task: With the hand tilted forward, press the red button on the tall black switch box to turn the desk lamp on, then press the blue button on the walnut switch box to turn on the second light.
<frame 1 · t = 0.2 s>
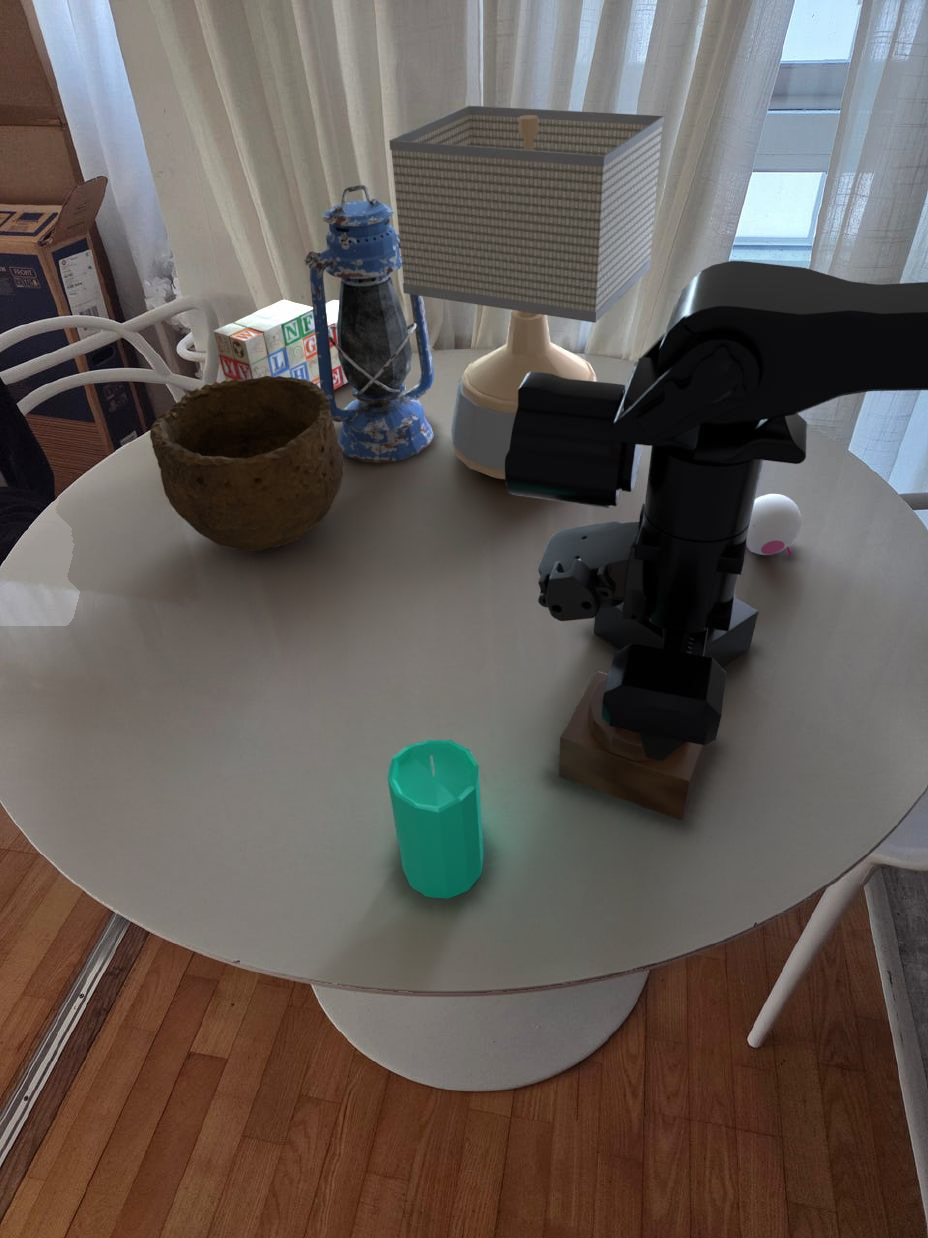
hand: (664, 706, 57), 12 cm above the table, tool pointing down, fingers open, 9 cm apart
lantern: (385, 438, 111), on the table
desk lamp: (528, 455, 106), on the table
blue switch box: (634, 761, 69), on the table
blue button: (642, 700, 64), point 7 cm above the table, slide at 0.1 cm
switch box: (670, 641, 79), on the table
light button: (679, 581, 75), point 7 cm above the table, slide at 0.1 cm
stack of blocks: (306, 393, 122), on the table
candle: (443, 863, 63), on the table
stress ball: (757, 547, 90), on the table
bowl: (270, 534, 96), on the table
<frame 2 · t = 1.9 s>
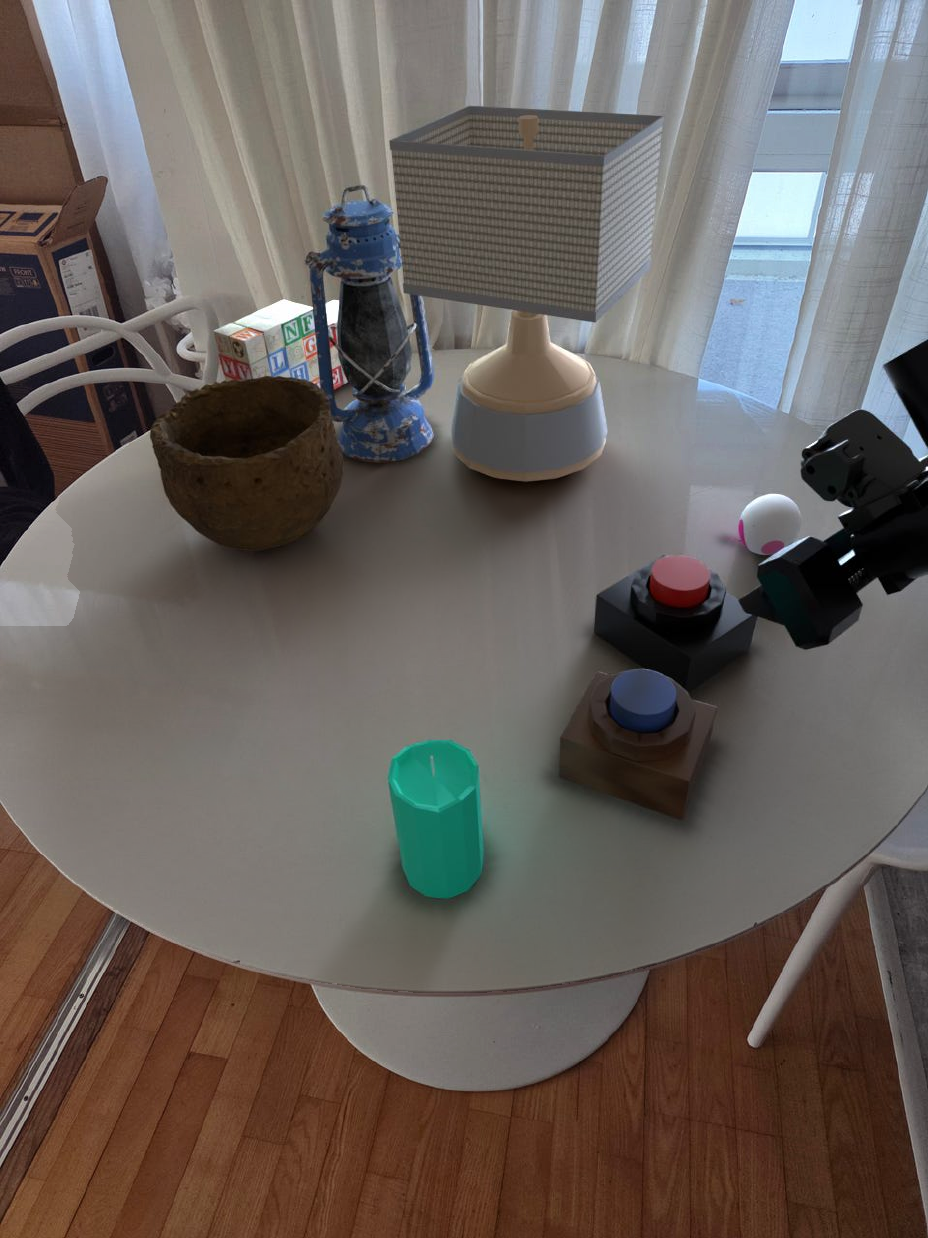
hand: (780, 578, 65), 13 cm above the table, tool tilted 45°, fingers open, 9 cm apart
nothing on the table moved.
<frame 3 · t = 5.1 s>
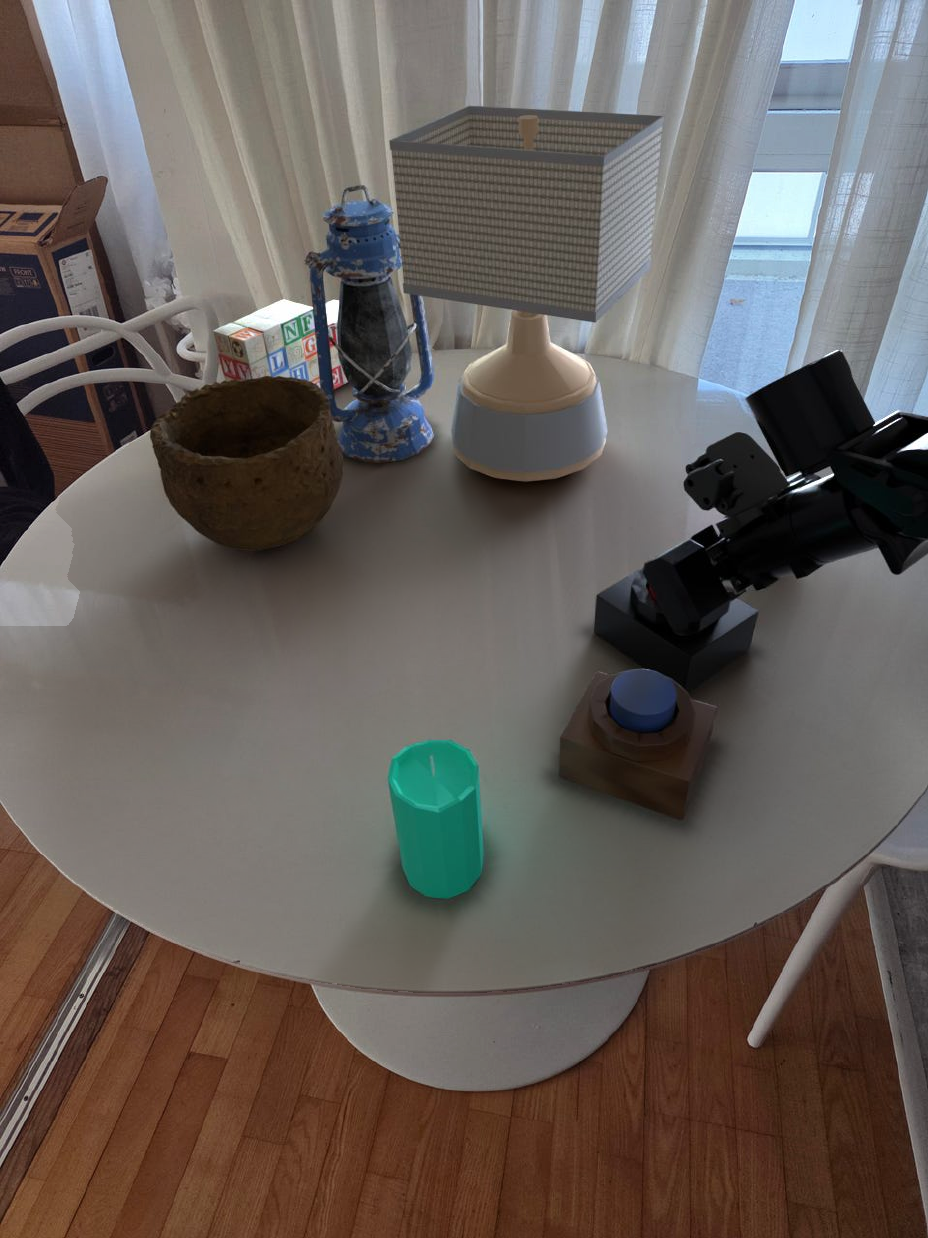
hand: (680, 573, 74), 8 cm above the table, tool tilted 45°, fingers closed, pressing on light button
light button: (678, 585, 75), point 7 cm above the table, slide at -0.4 cm, touching gripper
everything else where it was.
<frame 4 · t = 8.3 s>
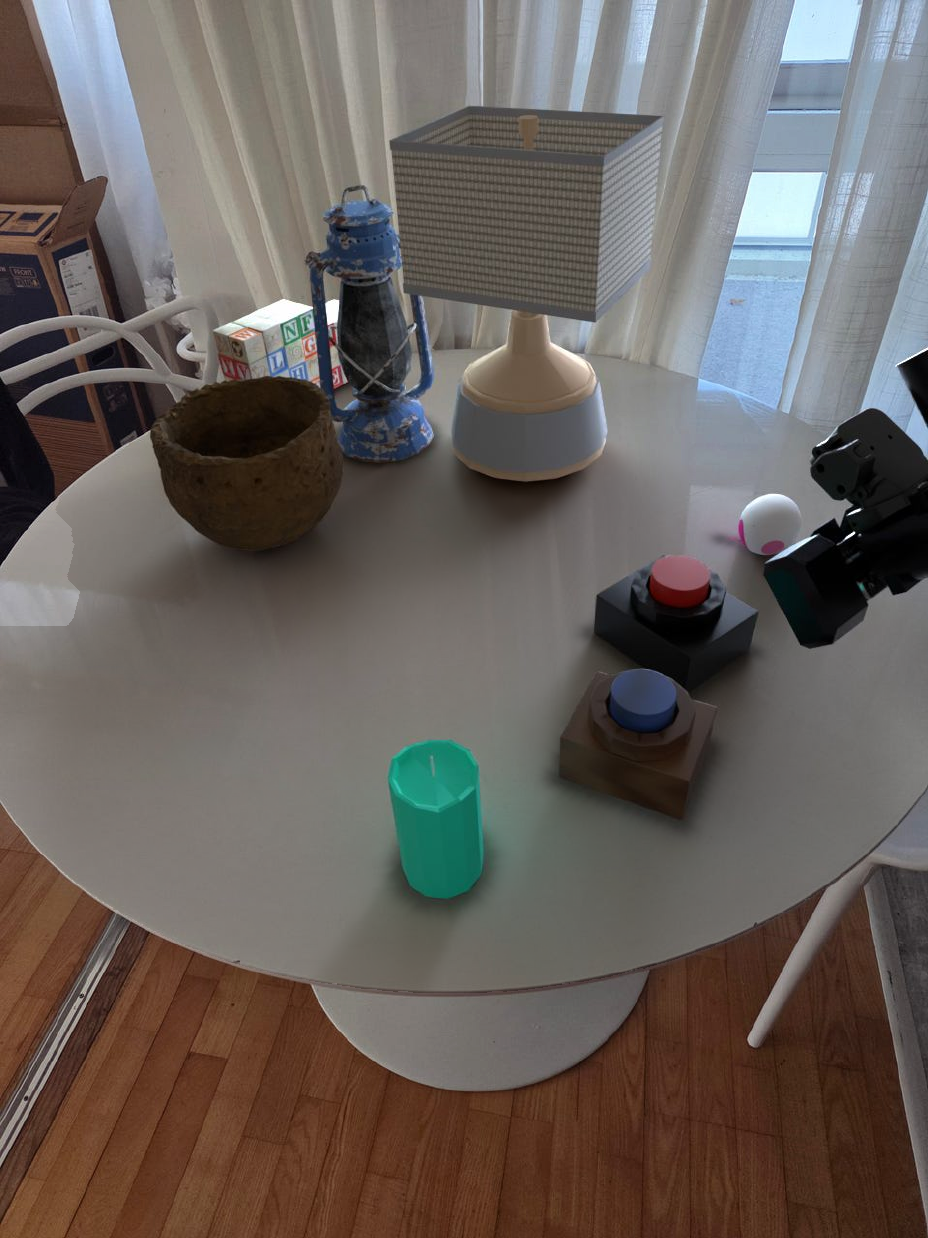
hand: (785, 575, 65), 14 cm above the table, tool tilted 45°, fingers closed
light button: (679, 581, 75), point 7 cm above the table, slide at 0.1 cm
everything else where it was.
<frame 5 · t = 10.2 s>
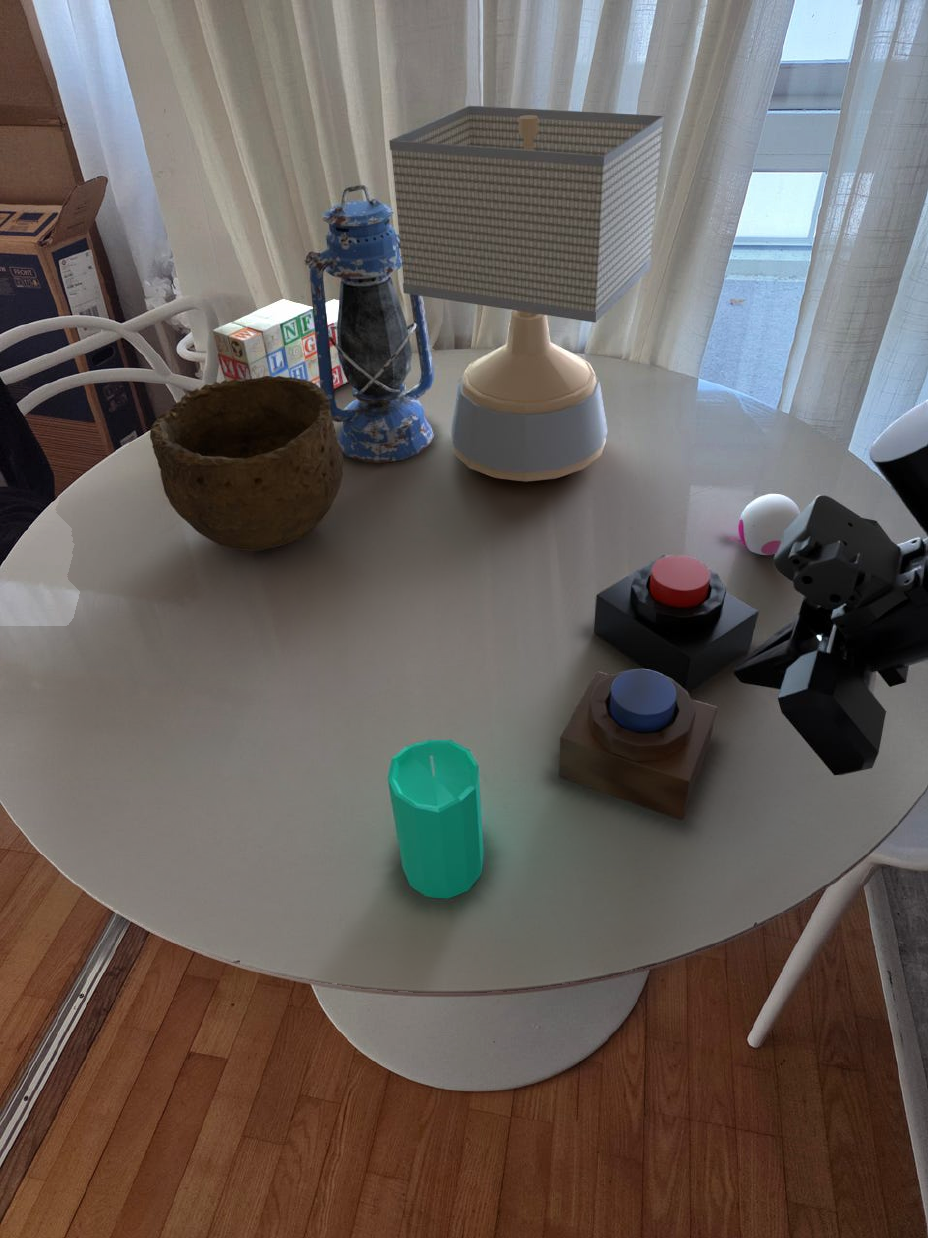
hand: (737, 674, 59), 12 cm above the table, tool tilted 45°, fingers closed
nothing on the table moved.
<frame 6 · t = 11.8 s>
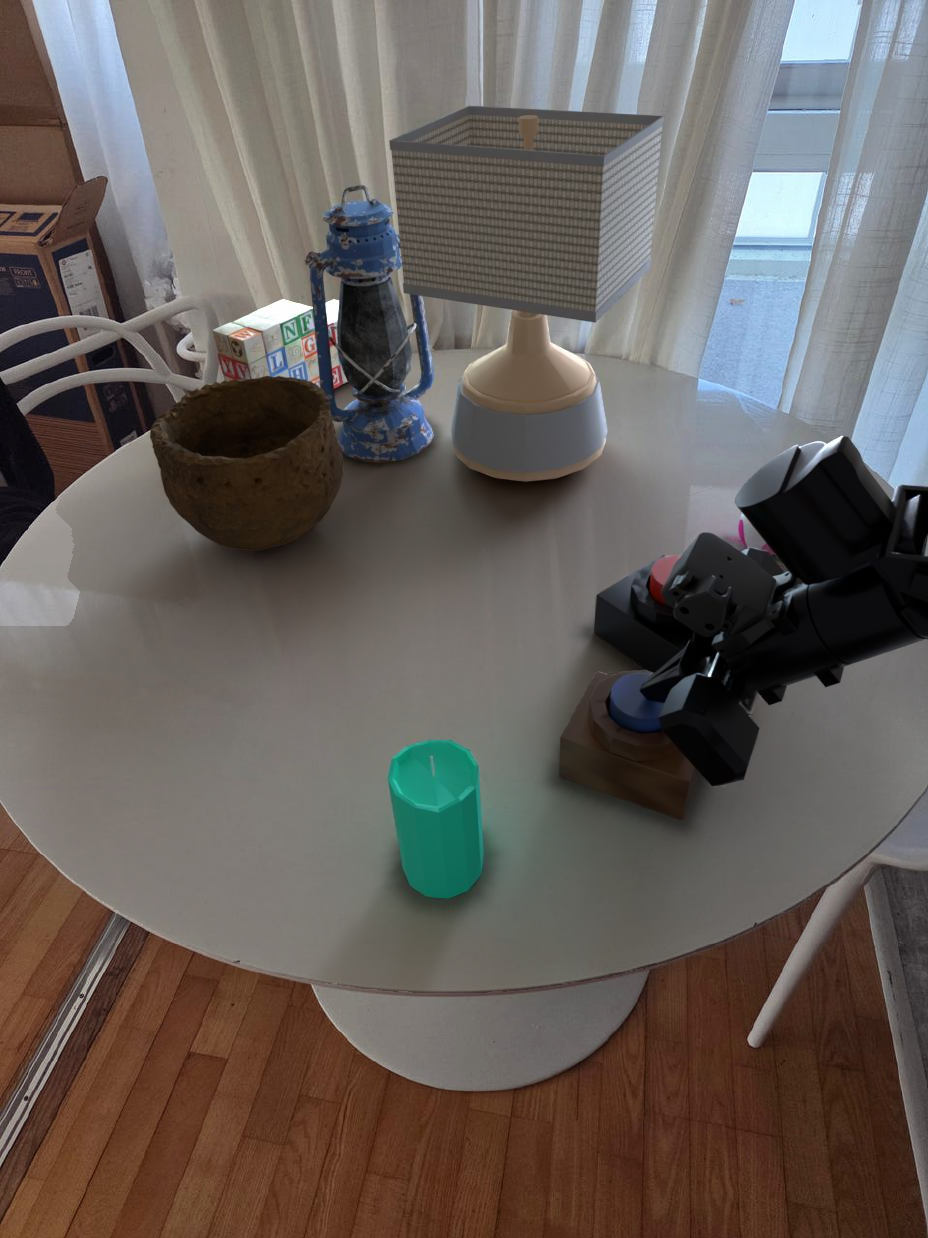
hand: (644, 692, 64), 8 cm above the table, tool tilted 45°, fingers closed, pressing on blue button
blue button: (642, 704, 65), point 7 cm above the table, slide at -0.4 cm, touching gripper
everything else where it was.
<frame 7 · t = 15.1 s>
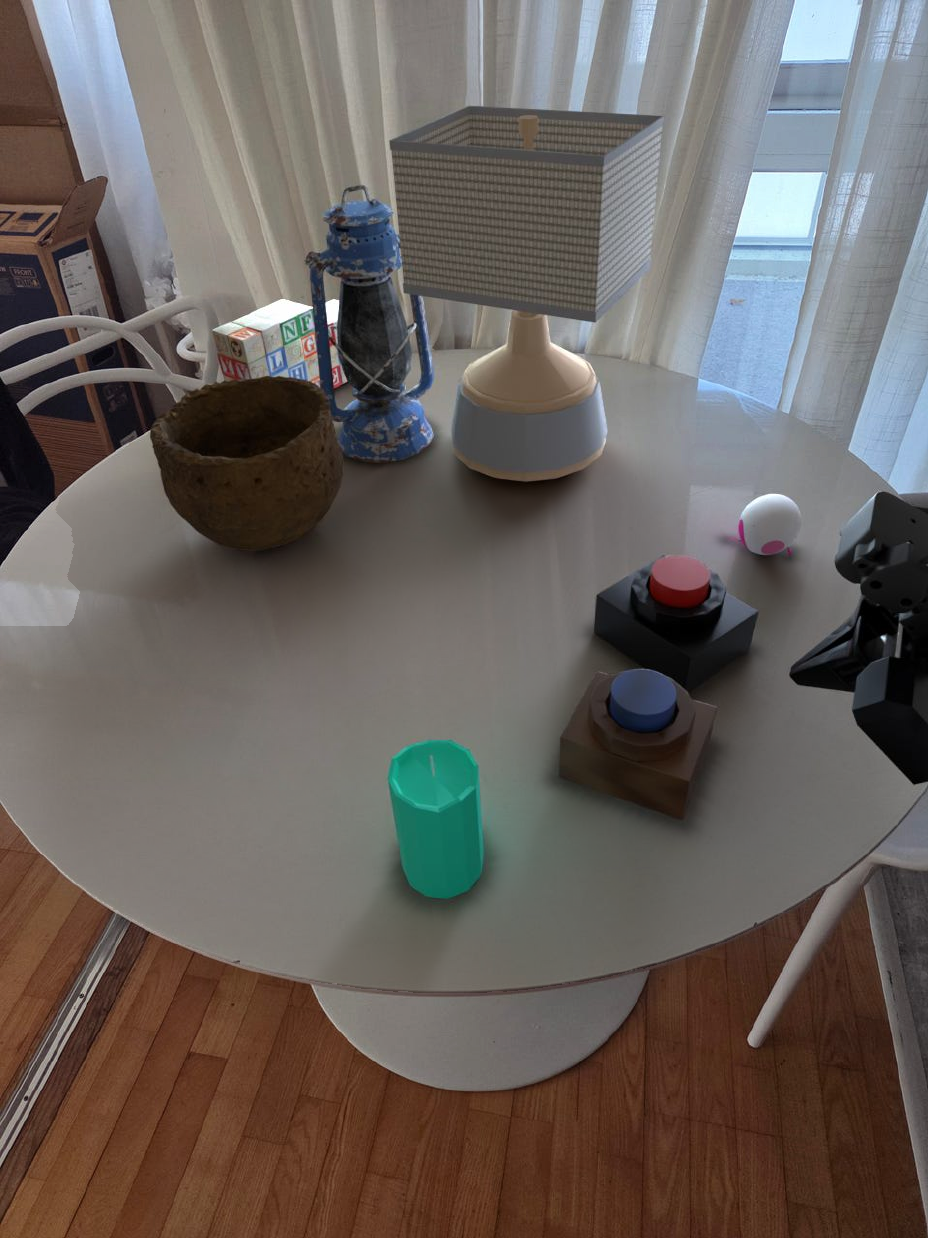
hand: (793, 676, 57), 14 cm above the table, tool tilted 45°, fingers closed
blue button: (642, 700, 64), point 7 cm above the table, slide at 0.1 cm
everything else where it was.
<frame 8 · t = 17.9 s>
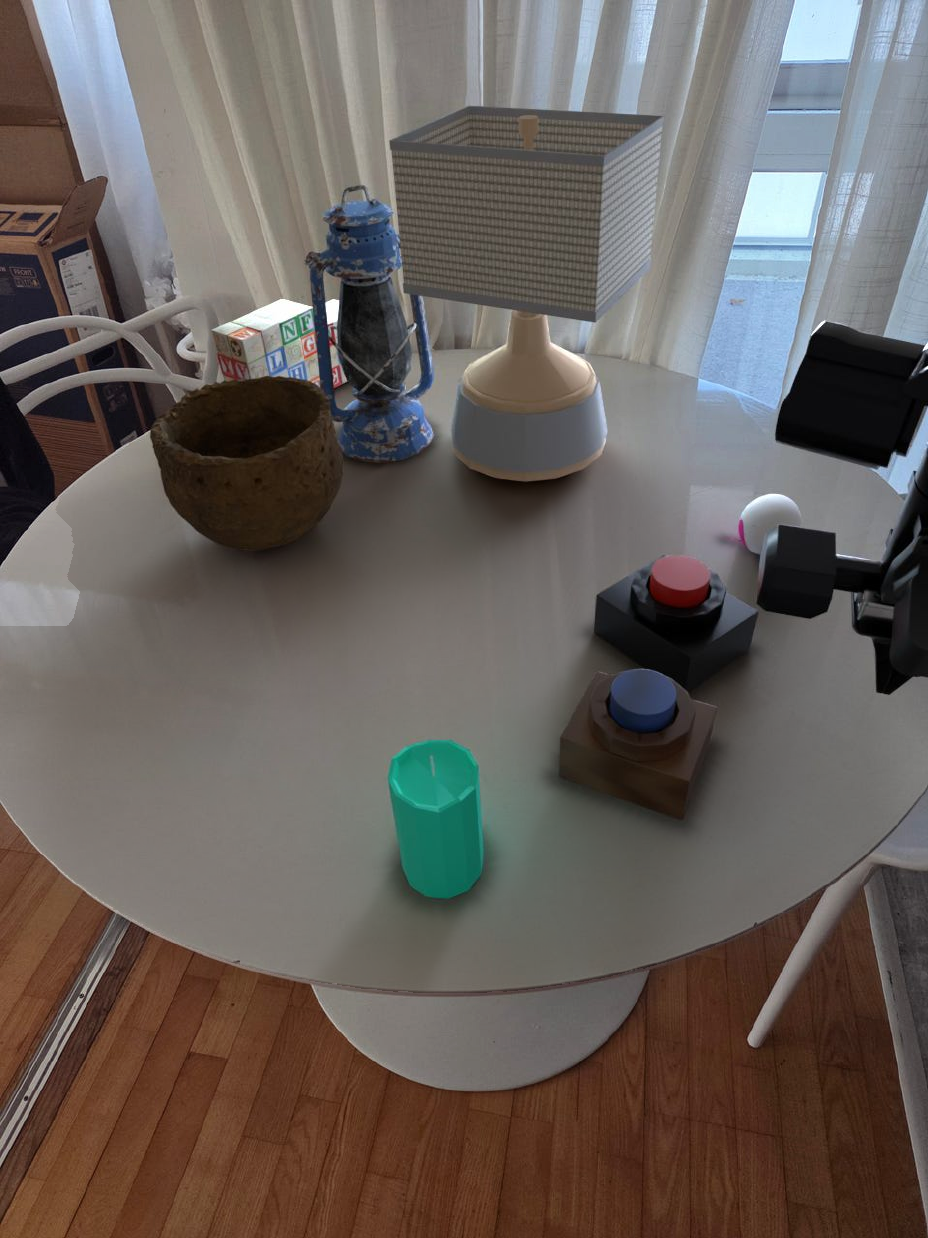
hand: (881, 689, 56), 13 cm above the table, tool pointing down, fingers closed
nothing on the table moved.
at the end: light button pushed in 1.3 cm at the most during the clip, back to where it started at the end; blue button pushed in 1.3 cm at the most during the clip, back to where it started at the end; desk lamp moved 0.2 cm from its start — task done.
